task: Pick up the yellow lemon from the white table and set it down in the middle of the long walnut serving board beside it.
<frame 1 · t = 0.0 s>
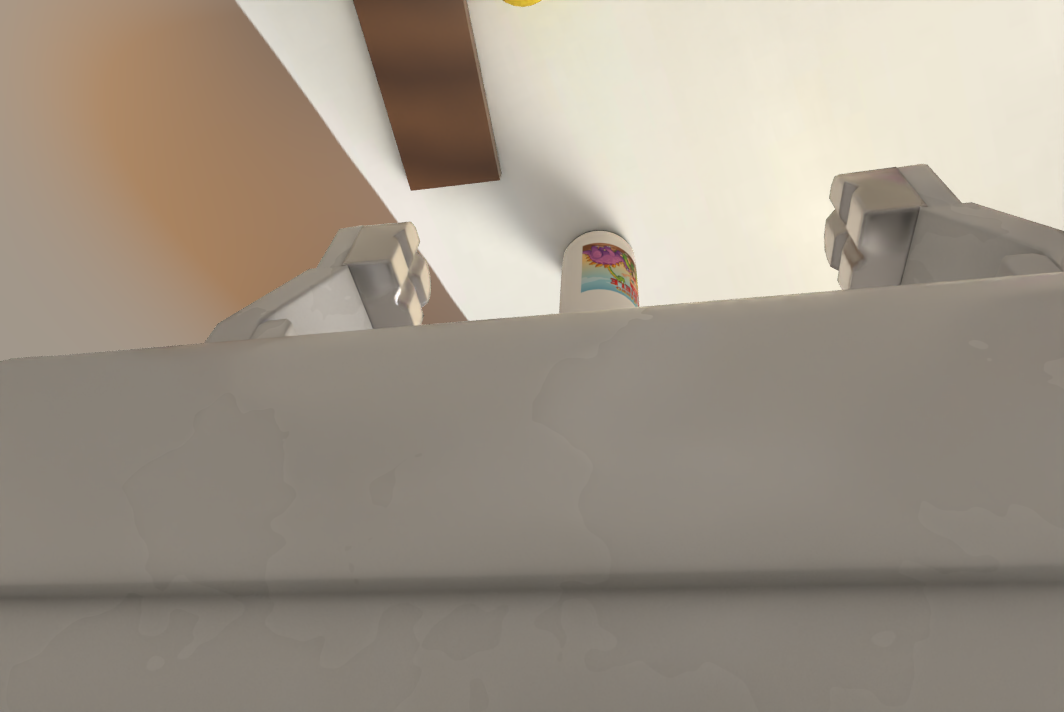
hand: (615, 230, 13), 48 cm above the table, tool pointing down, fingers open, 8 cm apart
milk bottle: (598, 258, 70), on the table
serving board: (428, 63, 58), on the table
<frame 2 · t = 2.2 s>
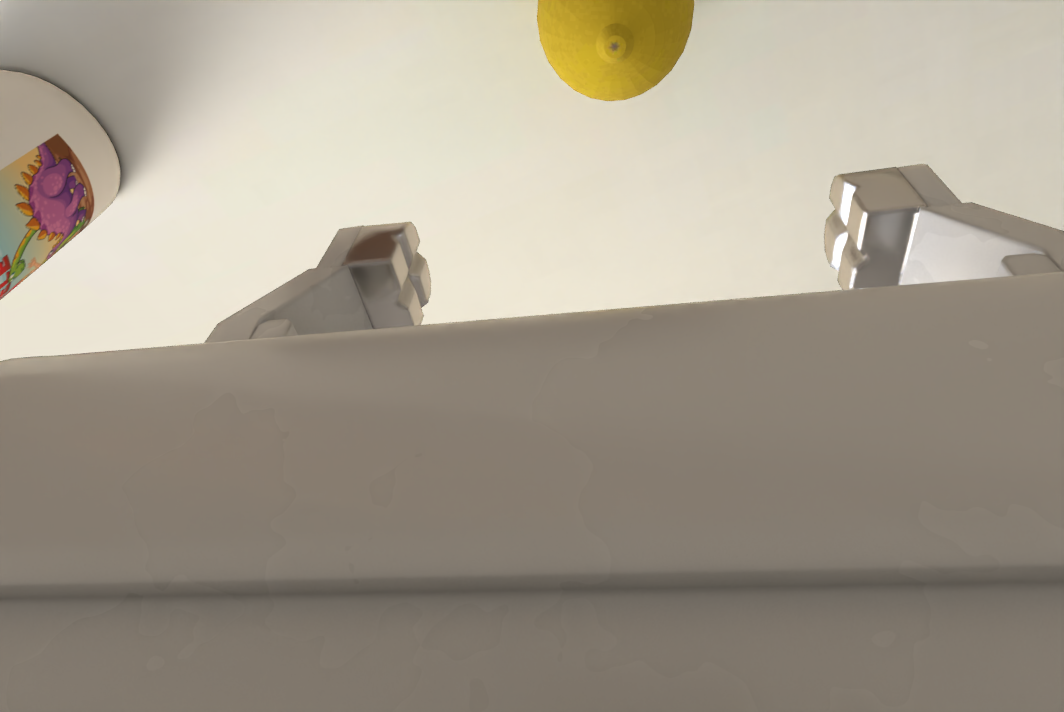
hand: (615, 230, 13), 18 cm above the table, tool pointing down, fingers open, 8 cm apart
milk bottle: (50, 142, 33), on the table
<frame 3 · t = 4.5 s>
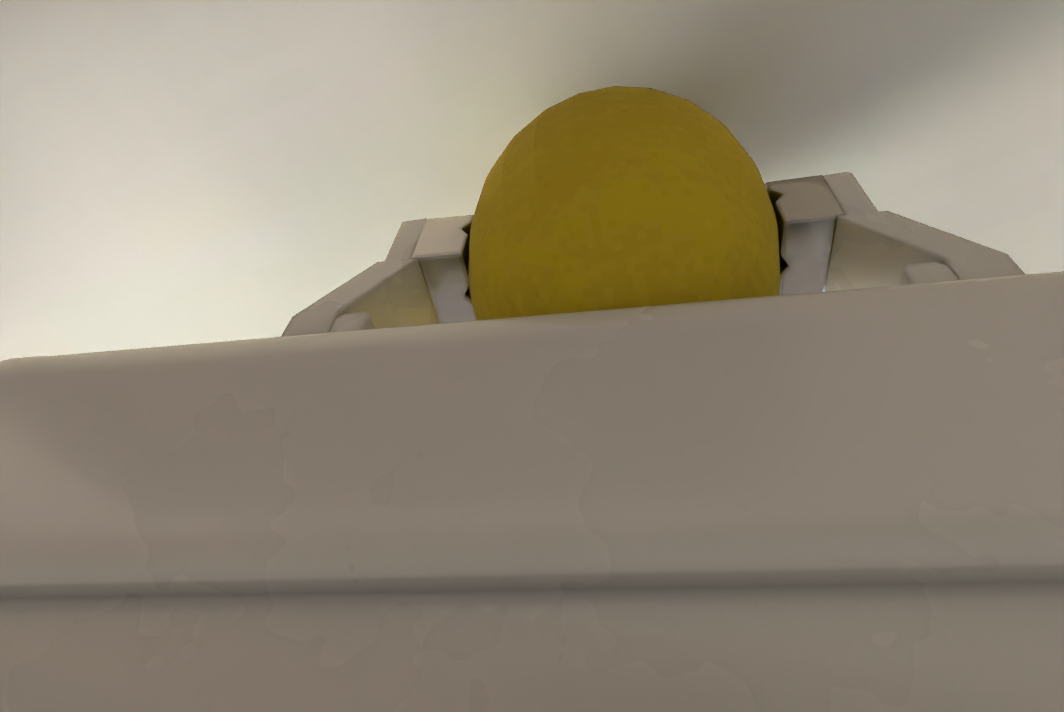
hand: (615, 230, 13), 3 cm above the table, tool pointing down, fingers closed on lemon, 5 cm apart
lemon: (613, 158, 15), on the table, touching gripper
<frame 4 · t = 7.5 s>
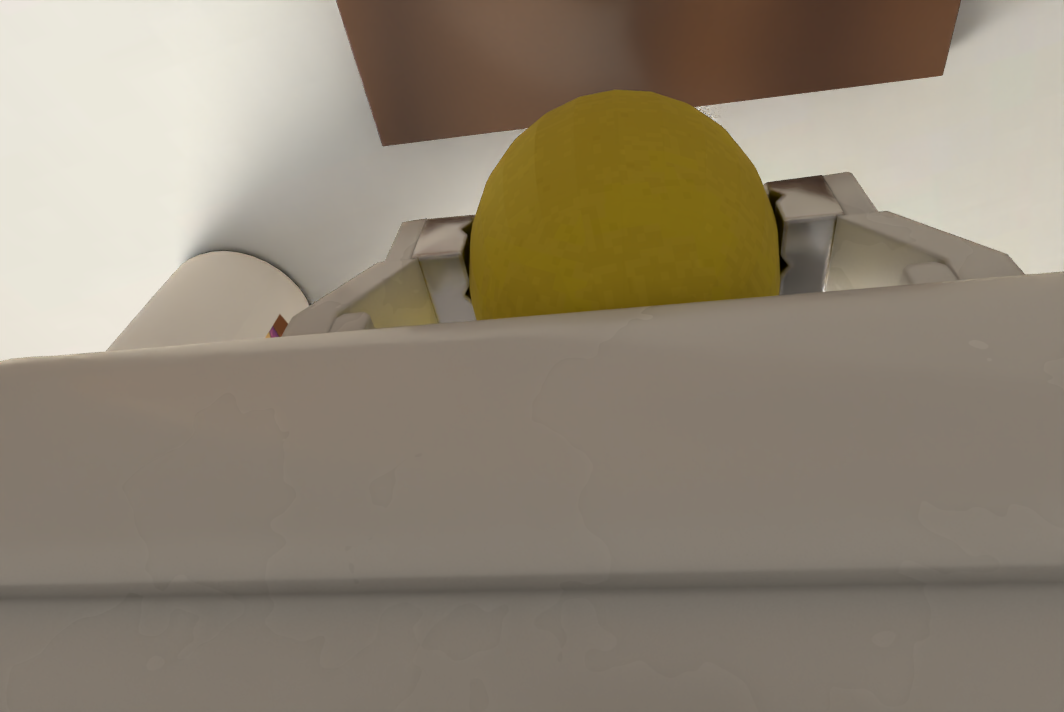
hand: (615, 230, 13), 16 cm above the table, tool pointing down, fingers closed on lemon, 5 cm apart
lemon: (613, 160, 15), point 13 cm above the table, touching gripper
milk bottle: (249, 303, 36), on the table
when the fingers open (4 cm above the table, at t = 10.6 s): lemon stays where it is, resting on serving board.
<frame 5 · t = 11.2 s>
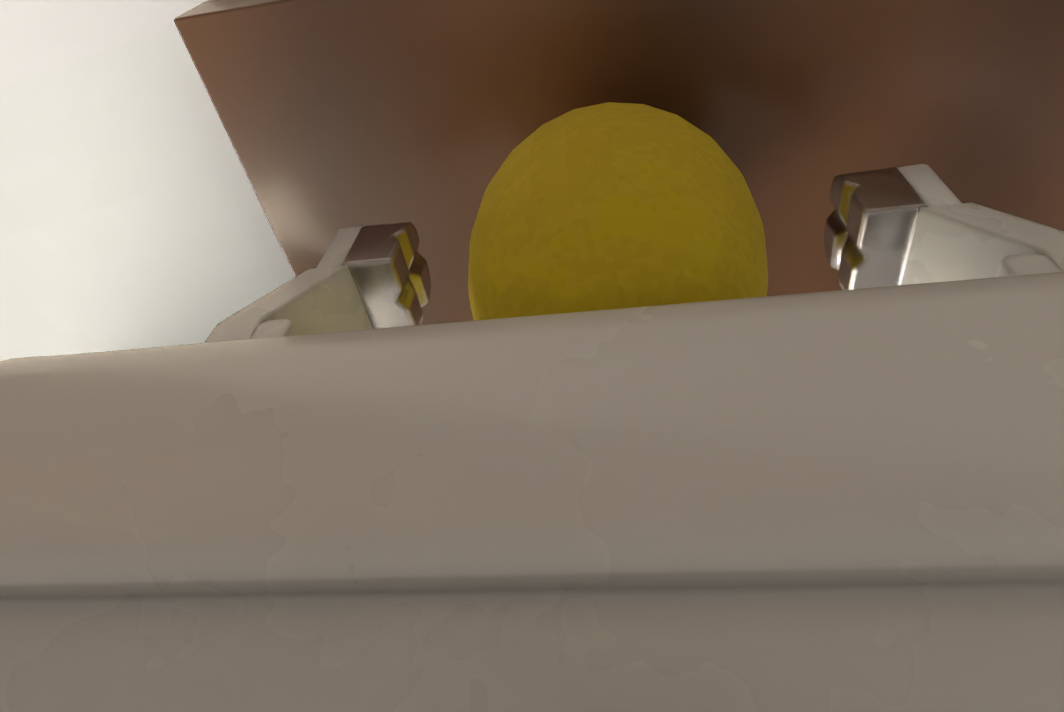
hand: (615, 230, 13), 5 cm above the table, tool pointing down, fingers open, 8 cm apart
lemon: (608, 168, 16), point 1 cm above the table, touching serving board
serving board: (689, 129, 16), on the table
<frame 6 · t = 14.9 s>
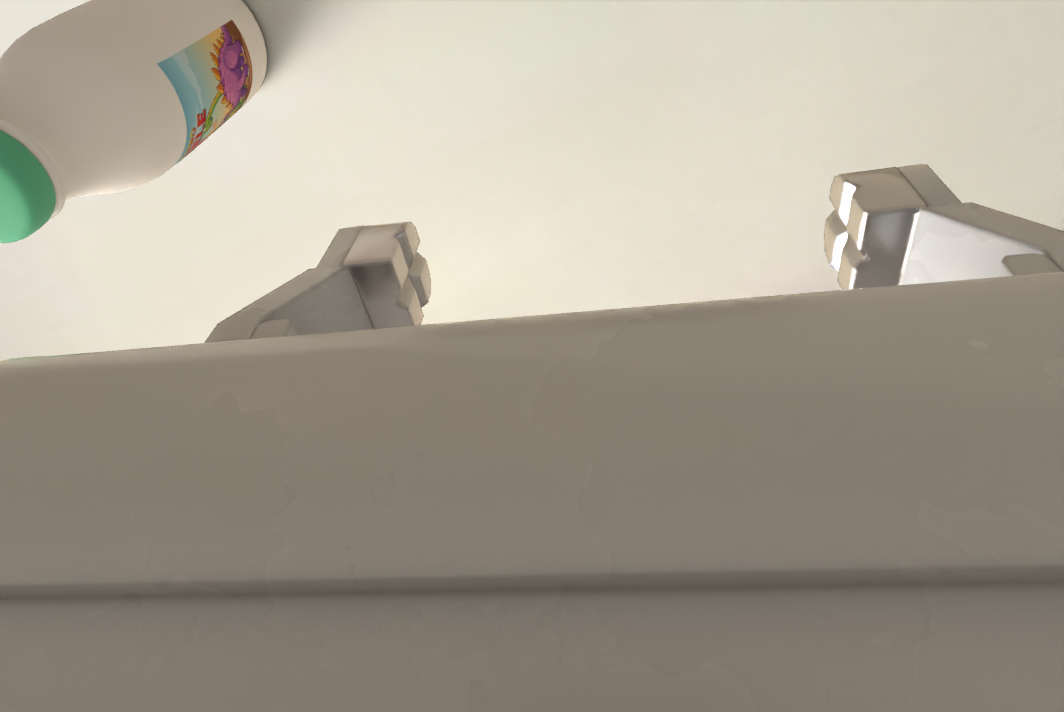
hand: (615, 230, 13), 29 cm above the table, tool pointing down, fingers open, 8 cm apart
milk bottle: (208, 38, 39), on the table
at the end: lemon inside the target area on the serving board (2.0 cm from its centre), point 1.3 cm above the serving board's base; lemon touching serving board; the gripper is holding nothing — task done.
